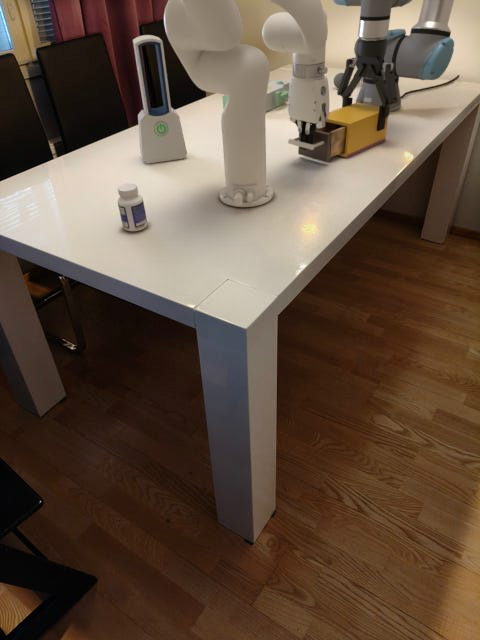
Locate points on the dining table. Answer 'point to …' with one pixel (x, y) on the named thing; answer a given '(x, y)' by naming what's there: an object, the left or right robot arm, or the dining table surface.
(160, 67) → the electronic device
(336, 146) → the drawer
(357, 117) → the yellow open box
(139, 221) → the pill bottle
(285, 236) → the dining table surface
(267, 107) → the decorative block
